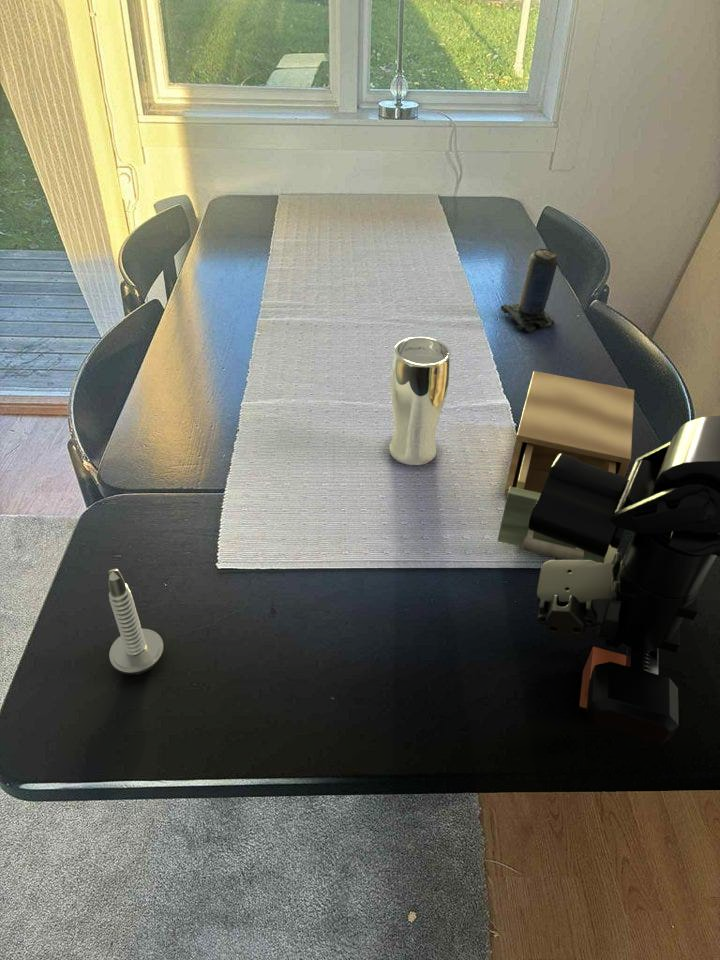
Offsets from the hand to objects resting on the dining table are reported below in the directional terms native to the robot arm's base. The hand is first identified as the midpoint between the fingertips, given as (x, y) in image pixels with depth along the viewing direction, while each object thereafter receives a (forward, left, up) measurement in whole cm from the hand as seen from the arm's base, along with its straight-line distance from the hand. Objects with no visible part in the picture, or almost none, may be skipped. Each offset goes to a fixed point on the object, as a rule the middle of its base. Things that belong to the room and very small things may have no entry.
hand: (608, 684), depth 64 cm
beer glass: (+26, -29, -2) cm, 39 cm away
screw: (+42, +11, -2) cm, 43 cm away
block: (0, 0, -2) cm, 2 cm away
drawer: (+7, -20, -1) cm, 21 cm away
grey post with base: (+17, -71, -2) cm, 73 cm away
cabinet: (+7, -32, -2) cm, 33 cm away
